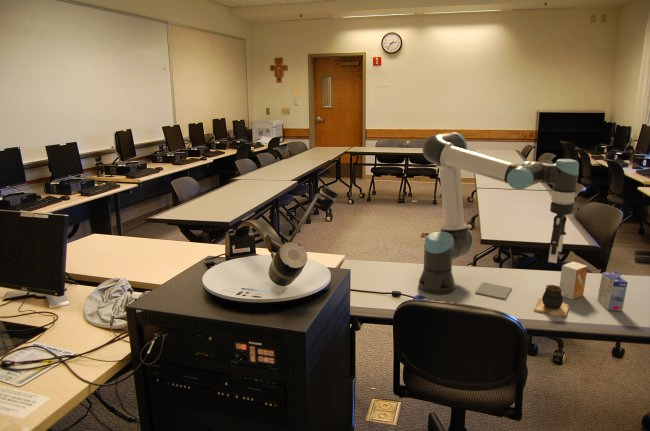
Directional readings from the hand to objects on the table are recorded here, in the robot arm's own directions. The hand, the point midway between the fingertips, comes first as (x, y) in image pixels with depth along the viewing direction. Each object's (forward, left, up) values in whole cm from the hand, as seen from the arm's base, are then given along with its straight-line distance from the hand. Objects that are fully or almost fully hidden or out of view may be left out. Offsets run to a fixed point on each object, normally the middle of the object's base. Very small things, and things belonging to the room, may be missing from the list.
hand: (555, 256), depth 181 cm
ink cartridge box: (+20, +13, -21) cm, 32 cm away
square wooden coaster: (+1, -1, -21) cm, 21 cm away
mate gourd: (+1, -1, -20) cm, 20 cm away
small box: (+6, +16, -21) cm, 28 cm away
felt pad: (-22, +4, -21) cm, 31 cm away
